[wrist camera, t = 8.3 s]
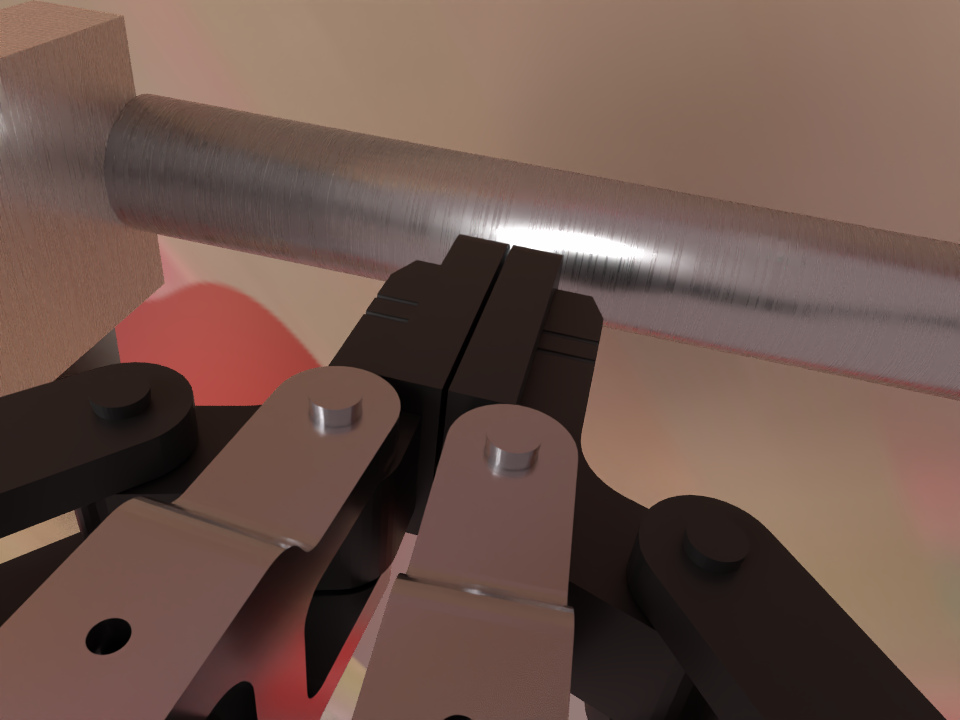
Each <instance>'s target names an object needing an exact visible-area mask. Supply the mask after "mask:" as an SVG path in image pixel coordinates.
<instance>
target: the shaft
mask: <svg viewBox="0 0 960 720" xmlns="http://www.w3.org/2000/svg"><path fill="white" fill-rule="evenodd" d="M157 234H160V235H165V236H169V237H174V238H179V239H184V240H189V241H193V242H198V243H203V244H208V245H213V246H217V247H222V248H227V249H232V250H237V251H242V252H246V253H251V254H256V255H261V256H266V257H270V258H275V259H280V260H285V261H290V262H294V263H299V264H304V265H309V266H314V267H319V268H323V269H328V270H333V271H338V272H343V273H347V274H352V275H357V276H362V277H367V278H371V279H376V280H381V281H387V279H388V278H389V276H390V275H391V274H392V273H394V272H396V271H398V270H399V269H401V268H403V267H405V266H407V265H408V264H410V263H412V262H414V261H416V260H420V261H424V262H429V263H434V264H439V265H441V264H442V262H443V260H444V258H445V257H446V255H447V253H448V252H449V250H450V248H451V246H452V245H453V243H454V241H455V240H456V238H457V236H458V235H459V234H462V235H467V236H472V237H477V238H482V239H487V240H492V241H497V242H502V243H507V244H510V250H511V248H512V246H513V245H517V246H522V247H527V248H532V249H537V250H542V251H547V252H552V253H557V254H562V255H563V264H562V270H561V276H560V281H559V286H558V289H559V290H564V291H569V292H573V293H578V294H583V295H588V296H593V298H594V300H595V302H596V304H597V306H598V309H599V311H600V313H601V315H602V317H603V319H604V320H603V325H602V327H607V328H612V329H617V330H622V331H627V332H631V333H636V334H641V335H646V336H651V337H655V338H660V339H665V340H670V341H675V342H679V343H684V344H689V345H694V346H699V347H704V348H708V349H713V350H718V351H723V352H728V353H732V354H737V355H742V356H747V357H752V358H756V359H761V360H766V361H771V362H776V363H780V364H785V365H790V366H795V367H800V368H805V369H809V370H814V371H819V372H824V373H829V374H833V375H838V376H843V377H848V378H853V379H857V380H862V381H867V382H872V383H877V384H882V385H886V386H891V387H896V388H901V389H906V390H910V391H915V392H920V393H925V394H930V395H934V396H939V397H944V398H949V399H954V400H959V401H960V244H958V243H953V242H947V241H942V240H936V239H931V238H926V237H920V236H915V235H909V234H904V233H898V232H893V231H888V230H882V229H877V228H871V227H866V226H861V225H855V224H850V223H844V222H839V221H834V220H828V219H823V218H817V217H812V216H807V215H801V214H796V213H790V212H785V211H780V210H774V209H769V208H763V207H758V206H753V205H747V204H742V203H736V202H731V201H726V200H720V199H715V198H709V197H704V196H699V195H693V194H688V193H682V192H677V191H672V190H666V189H661V188H655V187H650V186H645V185H639V184H634V183H628V182H623V181H618V180H612V179H607V178H601V177H596V176H590V175H585V174H580V173H574V172H569V171H563V170H558V169H553V168H547V167H542V166H536V165H531V164H526V163H520V162H515V161H509V160H504V159H499V158H493V157H488V156H482V155H477V154H472V153H466V152H461V151H455V150H450V149H445V148H439V147H434V146H428V145H423V144H418V143H412V142H407V141H401V140H396V139H391V138H385V137H380V136H374V135H369V134H364V133H358V132H353V131H347V130H342V129H337V128H331V127H326V126H320V125H315V124H310V123H304V122H299V121H293V120H288V119H282V118H277V117H272V116H266V115H261V114H255V113H250V112H245V111H239V110H234V109H228V108H223V107H218V106H212V105H207V104H201V103H196V102H191V101H185V100H180V99H174V98H169V97H164V96H158V95H153V94H141V95H139V96H136V93H135V87H134V80H133V74H132V67H131V61H130V54H129V47H128V41H127V34H126V28H125V21H124V16H123V15H117V14H111V13H105V12H99V11H94V10H88V9H82V8H76V7H71V6H65V5H59V4H53V3H47V2H42V1H36V0H33V1H29V2H25V3H22V4H18V5H15V6H11V7H7V8H4V9H0V397H2V396H5V395H9V394H12V393H16V392H19V391H22V390H26V389H29V388H32V387H36V386H39V385H43V384H46V383H49V382H53V381H54V380H55V379H56V378H57V377H58V376H60V375H61V374H62V373H63V372H64V371H65V370H66V369H68V368H69V367H70V366H71V365H72V364H73V363H74V362H76V361H77V360H78V359H79V358H80V357H81V356H82V355H84V354H85V353H86V352H87V351H88V350H89V349H90V348H92V347H93V346H94V345H95V344H96V343H97V342H98V341H99V340H101V339H102V338H103V337H104V336H105V335H106V334H107V333H109V332H110V331H111V330H112V329H113V328H114V327H115V326H116V325H118V324H119V323H120V322H121V321H122V320H123V319H124V318H126V317H127V316H128V315H129V314H130V313H131V312H132V311H134V310H135V309H136V308H137V307H138V306H139V305H140V304H142V303H143V302H144V301H145V300H146V299H147V298H148V297H150V296H151V295H152V294H153V293H154V292H155V291H156V290H158V289H159V288H160V287H161V286H162V285H163V284H164V283H165V282H164V276H163V269H162V263H161V256H160V250H159V243H158V237H157Z"/></svg>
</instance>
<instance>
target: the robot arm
mask: <svg viewBox="0 0 960 720" xmlns="http://www.w3.org/2000/svg"><path fill="white" fill-rule="evenodd" d="M562 264H563V255H562V254H557V253H552V252H547V251H542V250H537V249H532V248H527V247H522V246H517V245H513V246H512V248H511V250H510V244H507V243H502V242H497V241H492V240H487V239H482V238H477V237H472V236H467V235H462V234H459V235H458V236H457V238H456V240H455V241H454V243H453V245H452V246H451V248H450V250H449V252H448V253H447V255H446V257H445V258H444V260H443V262H442V264H441V265H439V264H434V263H429V262H424V261H420V260H416V261H414V262H412V263H410V264H408V265H407V266H405V267H403V268H401V269H399V270H398V271H396V272H394V273H392V274H391V275H390V276H389V278H388V279H387V281H386V282H385V284H384V285H383V287H382V288H381V290H380V291H379V292H378V295H377V298H374V300H373V301H372V303H371V304H370V306H369V307H368V309H367V310H366V315H365V314H363V316H362V317H361V319H360V320H359V322H358V323H357V325H356V326H355V328H354V329H353V331H352V332H351V334H350V335H349V337H348V338H347V339H346V341H345V342H344V344H343V345H342V347H341V348H340V350H339V351H338V353H337V354H336V356H335V357H334V359H333V360H332V361H331V363H330V364H329V366H326V367H319V368H314V369H309V370H306V371H304V372H300V373H298V374H296V375H294V376H292V377H291V378H289V379H287V380H286V381H284V382H283V383H282V384H281V385H280V386H279V387H278V388H277V389H276V390H275V391H274V392H273V393H272V394H271V396H270V397H269V398H268V399H267V400H266V401H265V402H264V404H263V405H256V406H195V403H194V396H193V391H192V387H191V385H190V384H189V382H188V381H187V380H186V379H185V377H184V376H183V375H181V374H179V373H178V372H176V371H175V370H172V369H170V368H168V367H164V366H161V365H157V364H151V363H137V362H133V363H120V364H113V365H108V366H104V367H100V368H97V369H93V370H90V371H87V372H83V373H80V374H76V375H73V376H70V377H66V378H63V379H60V380H56V381H53V382H49V383H46V384H43V385H39V386H36V387H32V388H29V389H26V390H22V391H19V392H16V393H12V394H9V395H5V396H2V397H0V538H3V537H5V536H8V535H10V534H13V533H16V532H18V531H21V530H23V529H26V528H29V527H31V526H34V525H36V524H39V523H42V522H44V521H47V520H49V519H52V518H54V517H57V516H60V515H62V514H65V513H67V512H70V511H73V510H74V511H75V514H76V518H77V521H78V525H79V528H80V532H79V533H76V534H74V535H72V536H69V537H67V538H64V539H62V540H59V541H57V542H54V543H52V544H49V545H47V546H44V547H42V548H39V549H37V550H34V551H32V552H29V553H27V554H24V555H22V556H19V557H17V558H14V559H12V560H9V561H7V562H4V563H2V564H0V720H320V719H321V716H322V714H323V712H324V710H325V708H326V706H327V704H328V702H329V700H330V698H331V696H332V694H333V692H334V690H335V688H336V686H337V684H338V682H339V681H340V679H341V677H342V675H343V673H344V671H345V669H346V667H347V665H348V663H349V661H350V659H351V657H352V655H353V653H354V651H355V649H356V647H357V645H358V643H359V641H360V640H361V638H362V635H363V633H364V632H365V630H366V628H367V626H368V624H369V622H370V620H371V618H372V616H373V614H374V612H375V610H376V608H377V606H378V604H379V602H380V600H381V598H382V597H383V594H384V592H385V591H386V589H387V586H388V584H389V581H390V576H391V564H392V562H393V560H394V558H395V556H396V554H397V551H398V549H399V546H400V544H401V542H402V539H403V537H404V534H405V532H407V533H411V534H415V535H418V536H417V540H416V543H415V546H414V550H413V553H412V557H411V560H410V564H409V567H408V570H407V572H406V574H403V573H399V574H398V576H397V578H396V580H395V582H394V585H393V587H392V590H391V593H390V596H389V599H388V602H387V605H386V609H385V612H384V615H383V618H382V622H381V625H380V629H379V632H378V635H377V638H376V642H375V645H374V648H373V651H372V655H371V658H370V661H369V665H368V668H367V671H366V674H365V678H364V681H363V684H362V688H361V691H360V694H359V697H358V701H357V704H356V707H355V711H354V714H353V717H352V720H568V717H569V701H570V693H571V694H573V695H574V696H576V697H578V698H579V699H581V700H582V701H584V702H585V711H586V715H587V718H588V720H946V719H945V718H944V717H943V715H942V714H941V713H940V712H939V711H938V710H937V709H936V708H935V707H934V706H933V705H932V704H931V703H930V702H929V701H928V699H927V698H926V697H925V696H924V695H923V694H922V693H921V692H920V691H919V690H918V689H917V688H916V687H915V686H914V685H913V683H912V682H911V681H910V680H909V679H908V678H907V677H906V676H905V675H904V674H903V673H902V672H901V671H900V670H899V669H898V668H897V666H896V665H895V664H894V663H893V662H892V661H891V660H890V659H889V658H888V657H887V656H886V655H885V654H884V653H883V652H882V650H881V649H880V648H879V647H878V646H877V645H876V644H875V643H874V642H873V641H872V640H871V639H870V638H869V637H868V636H867V634H866V633H865V632H864V631H863V630H862V629H861V628H860V627H859V626H858V625H857V624H856V623H855V622H854V621H853V620H852V618H851V617H850V616H849V615H848V614H847V613H846V612H845V611H844V610H843V609H842V608H841V607H840V606H839V605H838V604H837V602H836V601H835V600H834V599H833V598H832V597H831V596H830V595H829V594H828V593H827V592H826V591H825V590H824V589H823V588H822V586H821V585H820V584H819V583H818V582H817V581H816V580H815V579H814V578H813V577H812V576H811V575H810V574H809V573H808V572H807V570H806V569H805V568H804V567H803V566H802V565H801V564H800V563H799V562H798V561H797V560H796V559H795V558H794V557H793V556H792V554H791V553H790V552H789V551H788V550H787V549H786V548H785V547H784V546H783V545H782V544H781V543H780V542H779V541H778V540H777V539H776V537H775V536H774V535H773V534H772V533H771V532H770V531H769V530H768V529H767V528H766V527H765V526H764V525H763V524H762V523H761V522H759V521H758V520H757V519H755V518H754V517H753V516H751V515H750V514H748V513H747V512H745V511H743V510H741V509H740V508H738V507H736V506H734V505H731V504H729V503H727V502H724V501H721V500H718V499H715V498H710V497H705V496H696V495H682V496H675V497H671V498H667V499H665V500H662V501H660V502H658V503H657V504H655V505H654V506H652V507H651V508H650V509H648V508H646V507H644V506H642V505H640V504H638V503H636V502H634V501H632V500H630V499H628V498H626V497H624V496H623V495H621V494H619V493H618V492H616V491H614V490H613V489H612V488H610V487H609V486H608V485H606V484H605V483H604V482H603V481H602V480H601V479H600V478H598V477H597V476H596V474H595V473H594V472H593V471H592V469H591V468H590V467H589V465H588V463H587V462H586V460H585V458H584V455H583V452H582V448H581V433H582V428H583V423H584V417H585V412H586V407H587V402H588V397H589V392H590V387H591V382H592V376H593V371H594V366H595V361H596V356H597V351H598V345H599V341H600V336H601V330H602V325H603V320H604V319H603V317H602V315H601V313H600V311H599V309H598V306H597V304H596V302H595V300H594V298H593V296H588V295H583V294H578V293H573V292H569V291H564V290H559V289H558V286H559V281H560V276H561V270H562Z"/></svg>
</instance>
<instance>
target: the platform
mask: <svg viewBox="0 0 960 720" xmlns="http://www.w3.org/2000/svg"><path fill="white" fill-rule="evenodd" d="M120 363H121V362H120V356H119V351H118V344H117V338H116V332H115V327H114V328H113V329H112V330H111V331H110V332H109V333H107V334H106V335H105V336H104V337H103V338H102V339H101V340H99V341H98V342H97V343H96V344H95V345H94V346H93V347H92V348H90V349H89V350H88V351H87V352H86V353H85V354H84V355H82V356H81V357H80V358H79V359H78V360H77V361H76V362H74V363H73V364H72V365H71V366H70V367H69V368H68V369H66V370H65V371H64V372H63V373H62V374H61V375H60V376H58V377H57V378H56V379H55V380H54V381H56V380H60V379H63V378H66V377H70V376H73V375H76V374H80V373H83V372H87V371H90V370H93V369H97V368H100V367H104V366H108V365H113V364H120Z"/></svg>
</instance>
